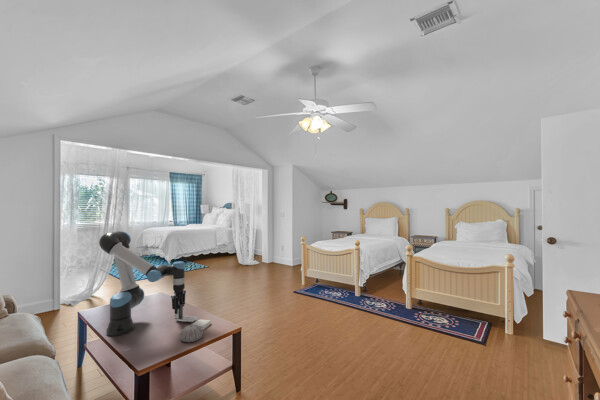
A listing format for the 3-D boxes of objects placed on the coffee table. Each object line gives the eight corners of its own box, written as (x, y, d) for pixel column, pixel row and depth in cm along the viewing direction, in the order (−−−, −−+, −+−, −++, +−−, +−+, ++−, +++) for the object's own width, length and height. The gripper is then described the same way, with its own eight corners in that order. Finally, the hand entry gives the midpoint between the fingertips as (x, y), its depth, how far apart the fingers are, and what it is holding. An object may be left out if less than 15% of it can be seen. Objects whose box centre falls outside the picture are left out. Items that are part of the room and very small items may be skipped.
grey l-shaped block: (192, 322, 188) (192, 307, 189) (173, 320, 192) (173, 305, 192) (198, 318, 195) (198, 303, 195) (179, 316, 198) (179, 302, 199)
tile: (190, 329, 181) (202, 330, 179) (190, 325, 181) (202, 326, 179) (198, 323, 191) (210, 324, 189) (198, 319, 191) (210, 320, 189)
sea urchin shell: (195, 331, 177) (195, 319, 177) (207, 337, 169) (207, 324, 169) (175, 340, 166) (175, 326, 167) (187, 346, 158) (187, 332, 158)
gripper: (175, 287, 186) (175, 322, 186) (190, 281, 202) (190, 313, 202) (166, 286, 188) (166, 321, 188) (181, 280, 204) (181, 312, 203)
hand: (178, 317), depth 195 cm, fingers open, 3 cm apart
